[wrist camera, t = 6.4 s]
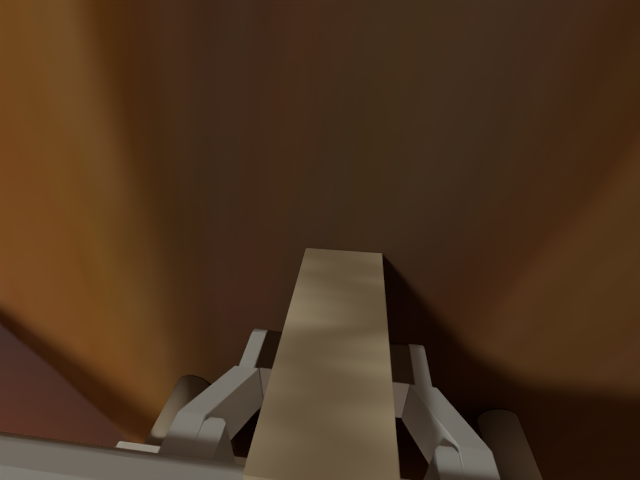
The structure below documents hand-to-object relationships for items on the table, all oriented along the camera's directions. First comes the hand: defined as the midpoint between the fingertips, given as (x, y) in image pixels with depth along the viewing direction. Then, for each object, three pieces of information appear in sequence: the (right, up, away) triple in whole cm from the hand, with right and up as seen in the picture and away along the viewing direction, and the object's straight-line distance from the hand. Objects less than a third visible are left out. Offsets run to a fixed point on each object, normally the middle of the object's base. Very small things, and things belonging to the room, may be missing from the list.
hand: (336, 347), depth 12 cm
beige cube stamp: (0, -3, +5) cm, 6 cm away
